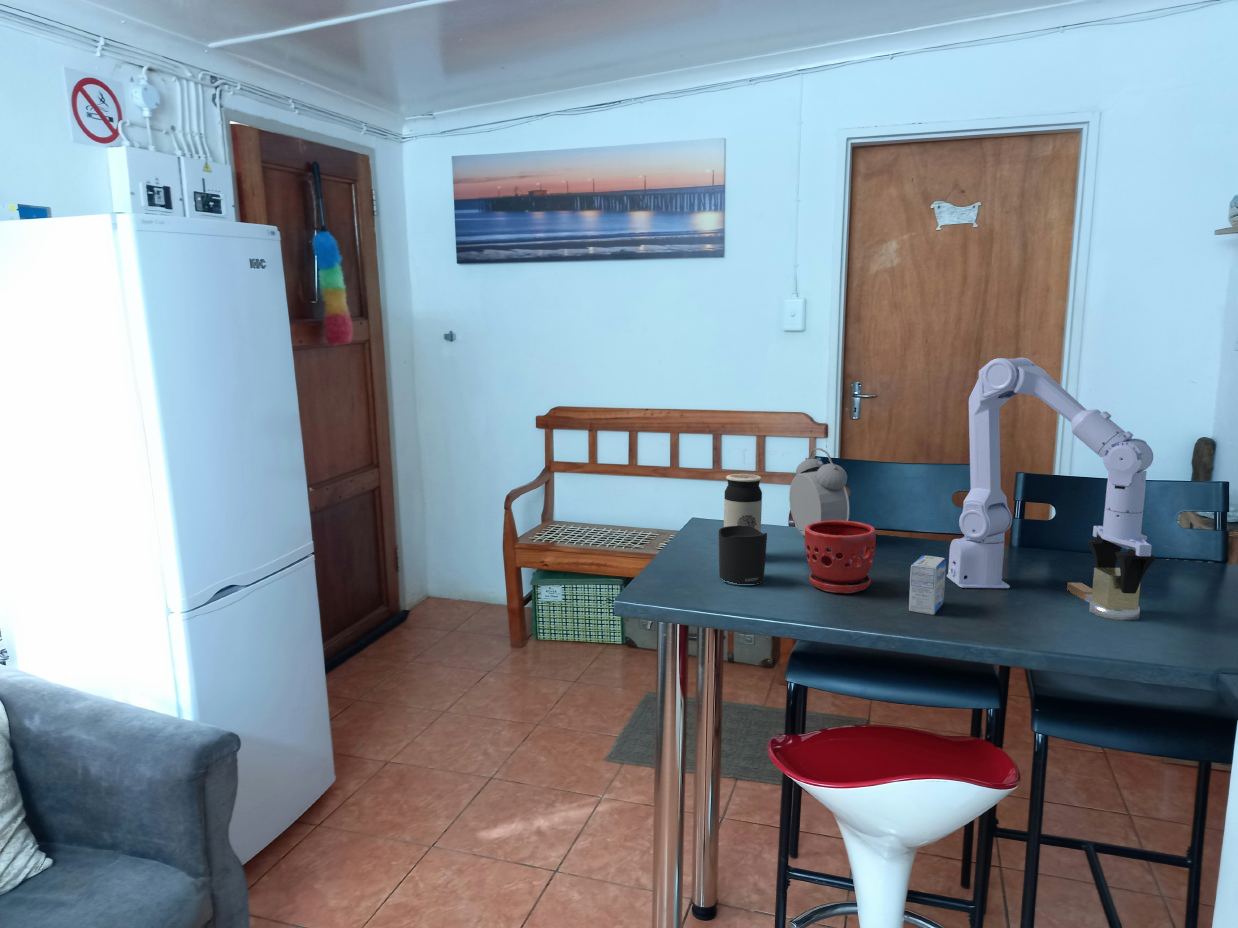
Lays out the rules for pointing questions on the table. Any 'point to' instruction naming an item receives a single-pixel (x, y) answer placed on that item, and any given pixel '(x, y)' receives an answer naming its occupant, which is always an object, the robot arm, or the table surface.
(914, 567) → the medicine box
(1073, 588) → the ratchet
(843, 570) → the plant pot
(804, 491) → the alarm clock
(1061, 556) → the table surface
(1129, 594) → the brushed metal cube
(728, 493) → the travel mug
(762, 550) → the pen holder
